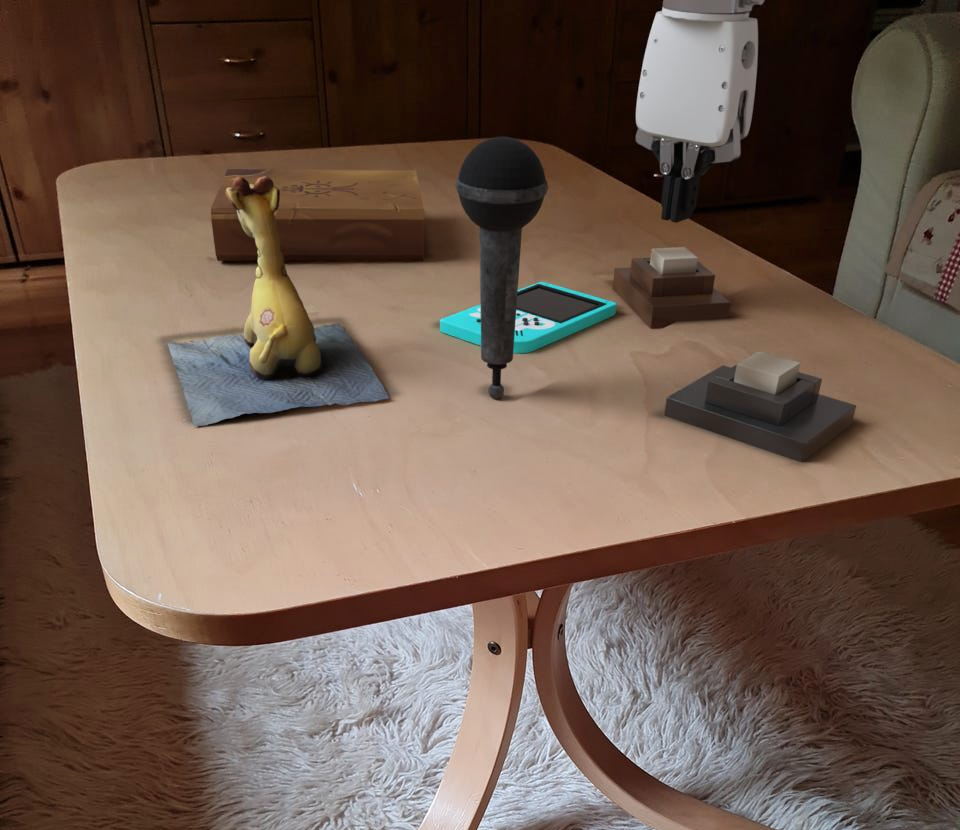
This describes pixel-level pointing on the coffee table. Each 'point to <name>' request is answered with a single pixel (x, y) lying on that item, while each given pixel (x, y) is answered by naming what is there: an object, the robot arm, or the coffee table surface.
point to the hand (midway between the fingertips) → (676, 218)
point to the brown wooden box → (330, 216)
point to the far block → (669, 294)
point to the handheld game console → (537, 316)
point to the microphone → (500, 235)
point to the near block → (762, 413)
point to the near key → (767, 372)
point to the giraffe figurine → (271, 339)
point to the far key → (673, 260)
